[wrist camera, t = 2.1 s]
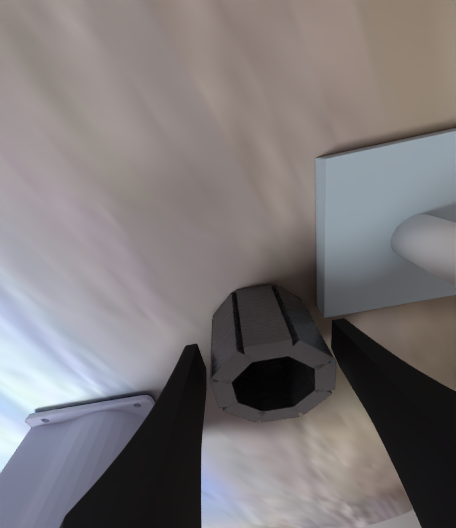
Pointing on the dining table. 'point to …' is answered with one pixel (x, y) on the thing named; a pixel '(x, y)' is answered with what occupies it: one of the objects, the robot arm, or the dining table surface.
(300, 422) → the dining table surface
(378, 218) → the square plate with peg
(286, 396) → the ring
